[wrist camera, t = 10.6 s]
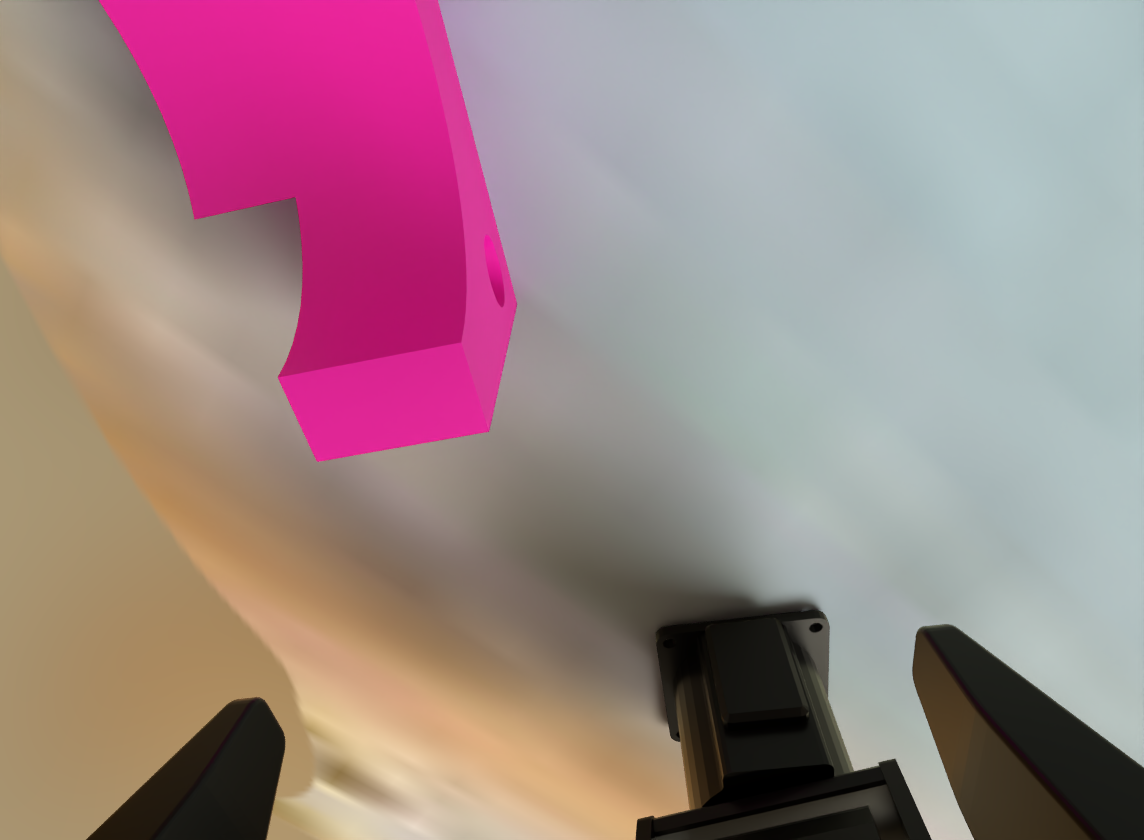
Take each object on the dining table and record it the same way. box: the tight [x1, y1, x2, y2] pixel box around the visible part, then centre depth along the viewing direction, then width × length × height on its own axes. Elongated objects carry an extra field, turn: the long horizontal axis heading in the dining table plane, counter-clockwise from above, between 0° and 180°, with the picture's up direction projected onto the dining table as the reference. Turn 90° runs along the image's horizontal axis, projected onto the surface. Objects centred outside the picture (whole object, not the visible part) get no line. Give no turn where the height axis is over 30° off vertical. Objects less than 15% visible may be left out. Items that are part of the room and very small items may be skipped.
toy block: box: [99, 0, 517, 462], centre depth 14 cm, size 15×6×8 cm, turn 12°
